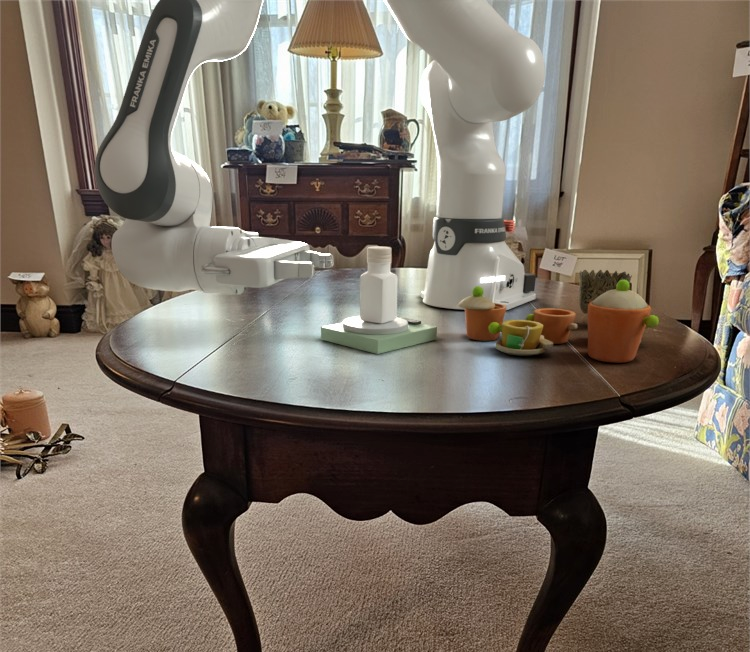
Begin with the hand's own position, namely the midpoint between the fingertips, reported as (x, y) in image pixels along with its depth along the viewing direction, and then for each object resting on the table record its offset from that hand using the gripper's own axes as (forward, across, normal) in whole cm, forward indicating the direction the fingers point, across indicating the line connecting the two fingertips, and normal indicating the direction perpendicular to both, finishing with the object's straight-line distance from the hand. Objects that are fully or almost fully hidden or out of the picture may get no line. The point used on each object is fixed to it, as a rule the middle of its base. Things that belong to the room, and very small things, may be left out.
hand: (323, 265), depth 89 cm
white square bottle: (+8, 0, +7) cm, 11 cm away
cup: (+39, +17, +10) cm, 44 cm away
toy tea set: (+32, +2, +10) cm, 33 cm away
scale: (+8, 0, +10) cm, 12 cm away
